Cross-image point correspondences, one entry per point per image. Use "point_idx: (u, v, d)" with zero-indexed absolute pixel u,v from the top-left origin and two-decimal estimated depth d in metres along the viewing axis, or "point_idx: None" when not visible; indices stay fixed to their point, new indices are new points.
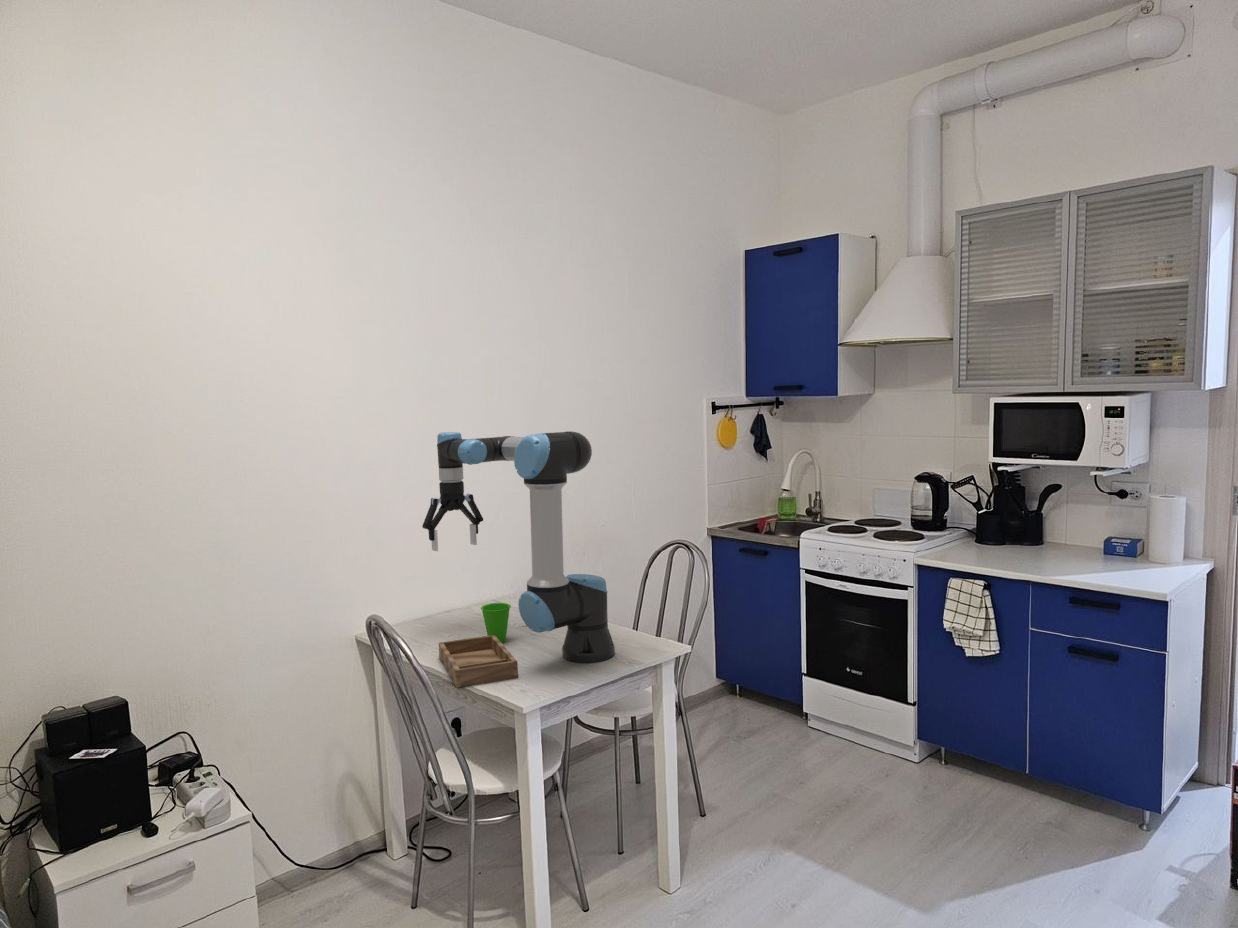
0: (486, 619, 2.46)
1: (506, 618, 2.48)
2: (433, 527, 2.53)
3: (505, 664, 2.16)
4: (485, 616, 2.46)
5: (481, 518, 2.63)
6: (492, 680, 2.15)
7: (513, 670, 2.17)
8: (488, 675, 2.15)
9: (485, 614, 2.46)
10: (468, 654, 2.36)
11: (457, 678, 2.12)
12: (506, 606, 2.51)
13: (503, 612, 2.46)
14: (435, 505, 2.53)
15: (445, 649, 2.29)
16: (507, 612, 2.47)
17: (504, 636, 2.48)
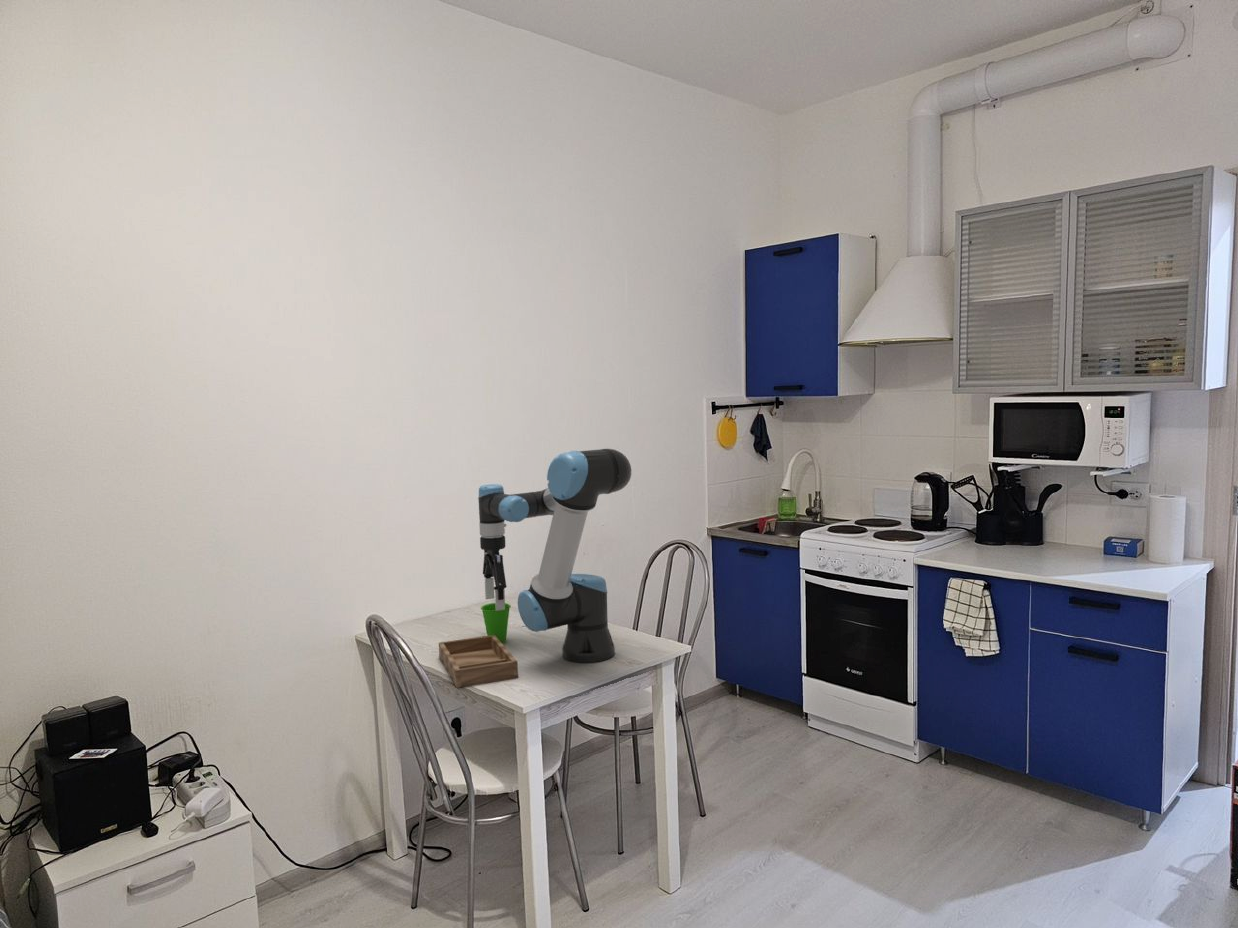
0: (486, 619, 2.46)
1: (506, 618, 2.48)
2: (484, 575, 2.55)
3: (505, 664, 2.16)
4: (485, 616, 2.46)
5: (497, 585, 2.39)
6: (492, 680, 2.15)
7: (513, 670, 2.17)
8: (488, 675, 2.15)
9: (485, 614, 2.46)
10: (468, 654, 2.36)
11: (457, 678, 2.12)
12: (506, 606, 2.51)
13: (503, 612, 2.46)
14: (484, 554, 2.53)
15: (445, 649, 2.29)
16: (507, 612, 2.47)
17: (504, 636, 2.48)
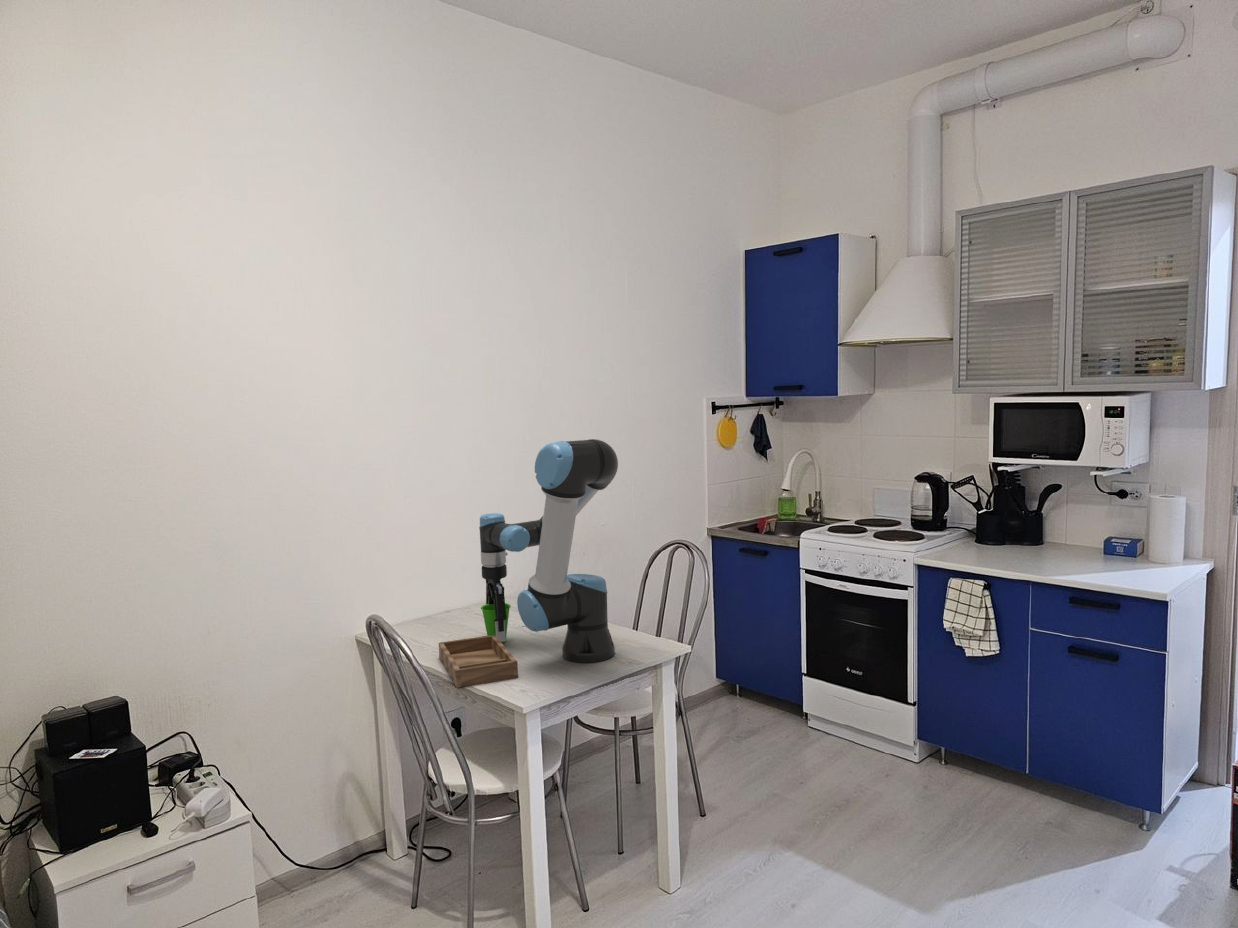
0: (486, 619, 2.46)
1: None
2: None
3: (505, 664, 2.16)
4: (485, 616, 2.46)
5: (497, 617, 2.41)
6: (492, 680, 2.15)
7: (513, 670, 2.17)
8: (488, 675, 2.15)
9: (485, 614, 2.46)
10: (468, 654, 2.36)
11: (457, 678, 2.12)
12: (506, 606, 2.51)
13: None
14: (486, 585, 2.53)
15: (445, 649, 2.29)
16: (507, 612, 2.47)
17: None
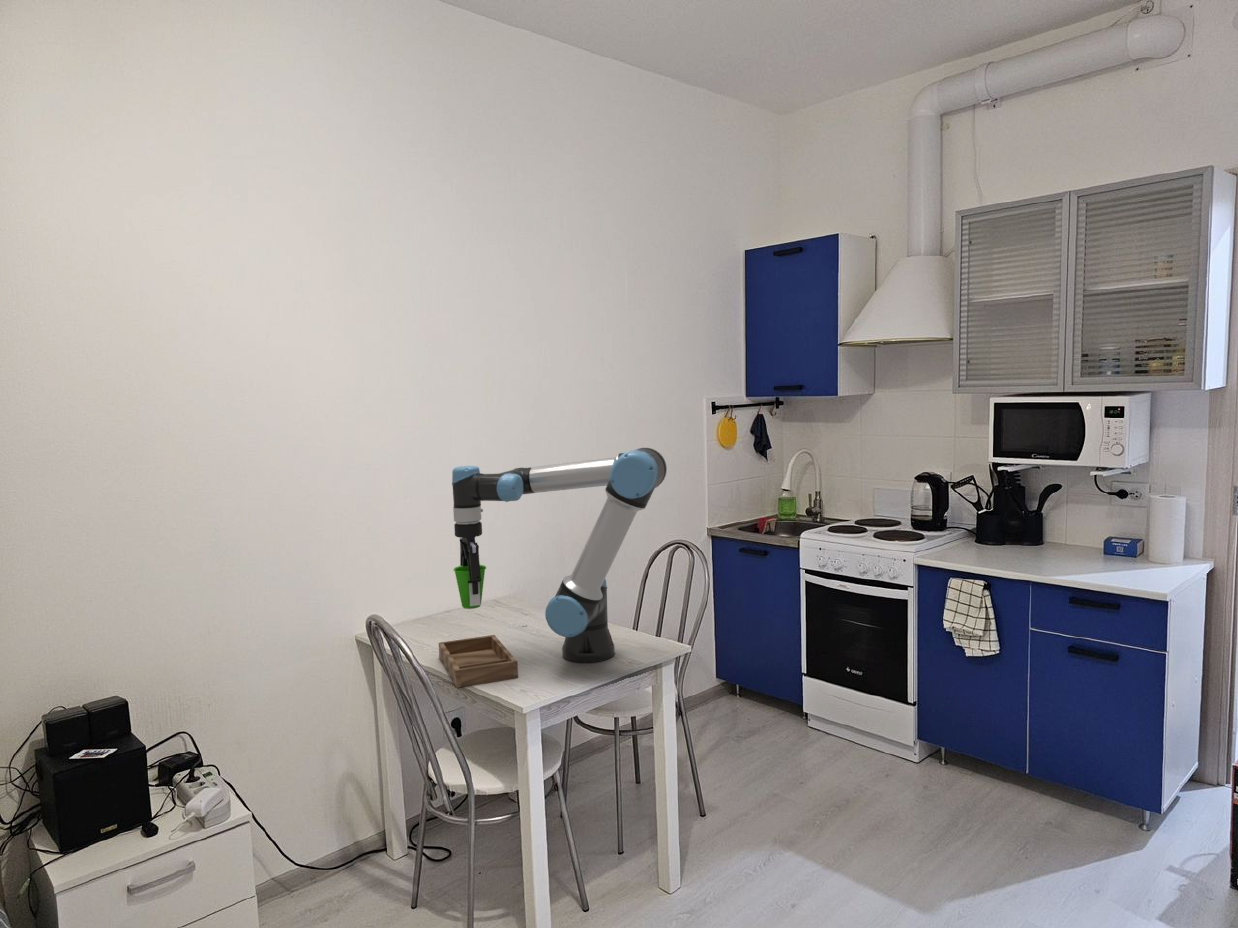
0: (459, 581, 2.25)
1: (481, 580, 2.26)
2: None
3: (505, 664, 2.16)
4: (458, 578, 2.25)
5: (471, 578, 2.20)
6: (492, 680, 2.15)
7: (513, 670, 2.17)
8: (488, 675, 2.15)
9: (458, 576, 2.25)
10: (468, 654, 2.36)
11: (457, 678, 2.12)
12: (481, 568, 2.30)
13: None
14: (460, 545, 2.32)
15: (445, 649, 2.29)
16: (482, 574, 2.26)
17: None
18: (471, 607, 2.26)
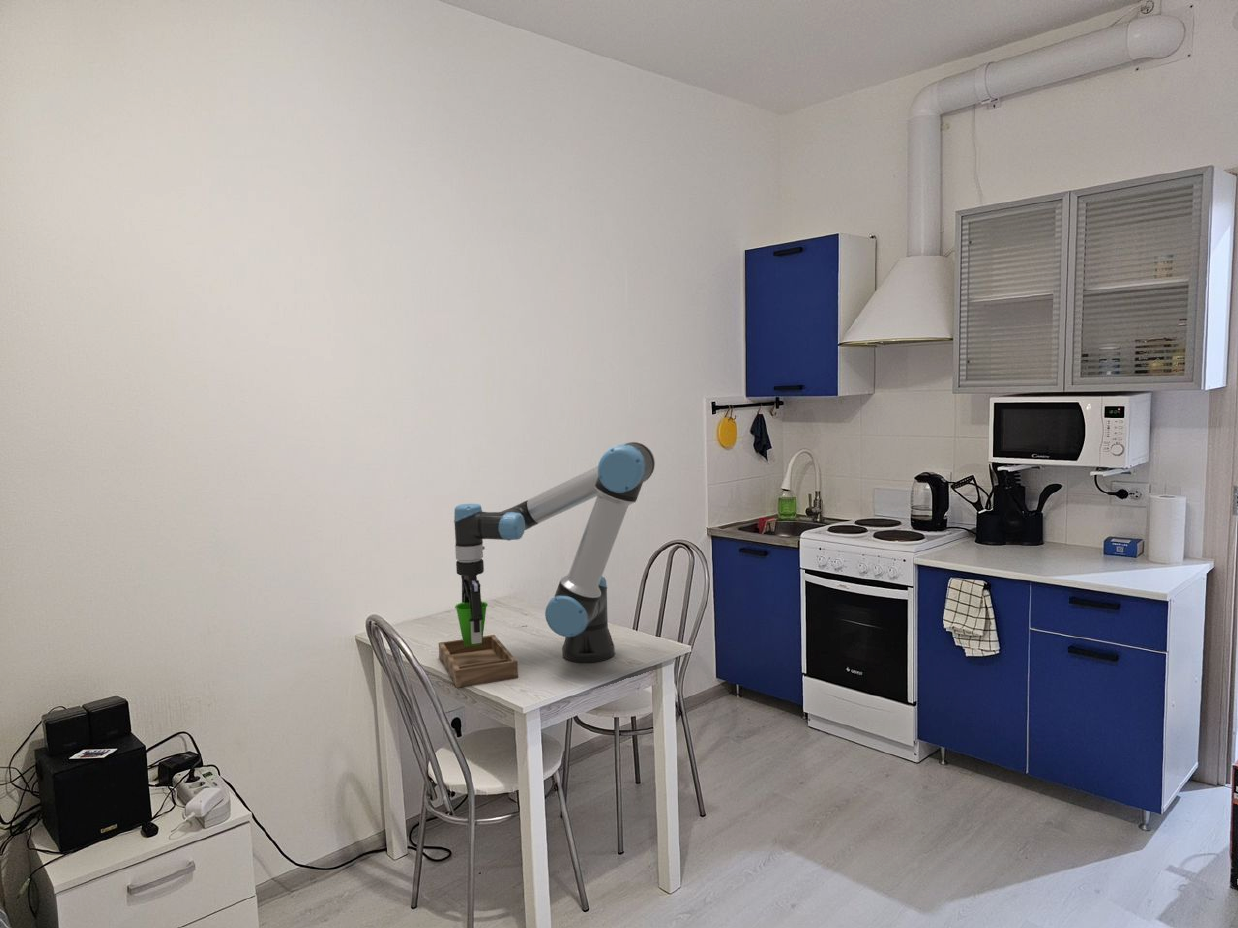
0: (460, 619, 2.26)
1: (483, 618, 2.27)
2: None
3: (505, 664, 2.16)
4: (459, 615, 2.26)
5: (473, 616, 2.21)
6: (492, 680, 2.15)
7: (513, 670, 2.17)
8: (488, 675, 2.15)
9: (459, 613, 2.26)
10: (468, 654, 2.36)
11: (457, 678, 2.12)
12: (483, 605, 2.31)
13: None
14: None
15: (445, 649, 2.29)
16: (484, 611, 2.27)
17: None
18: (472, 644, 2.27)
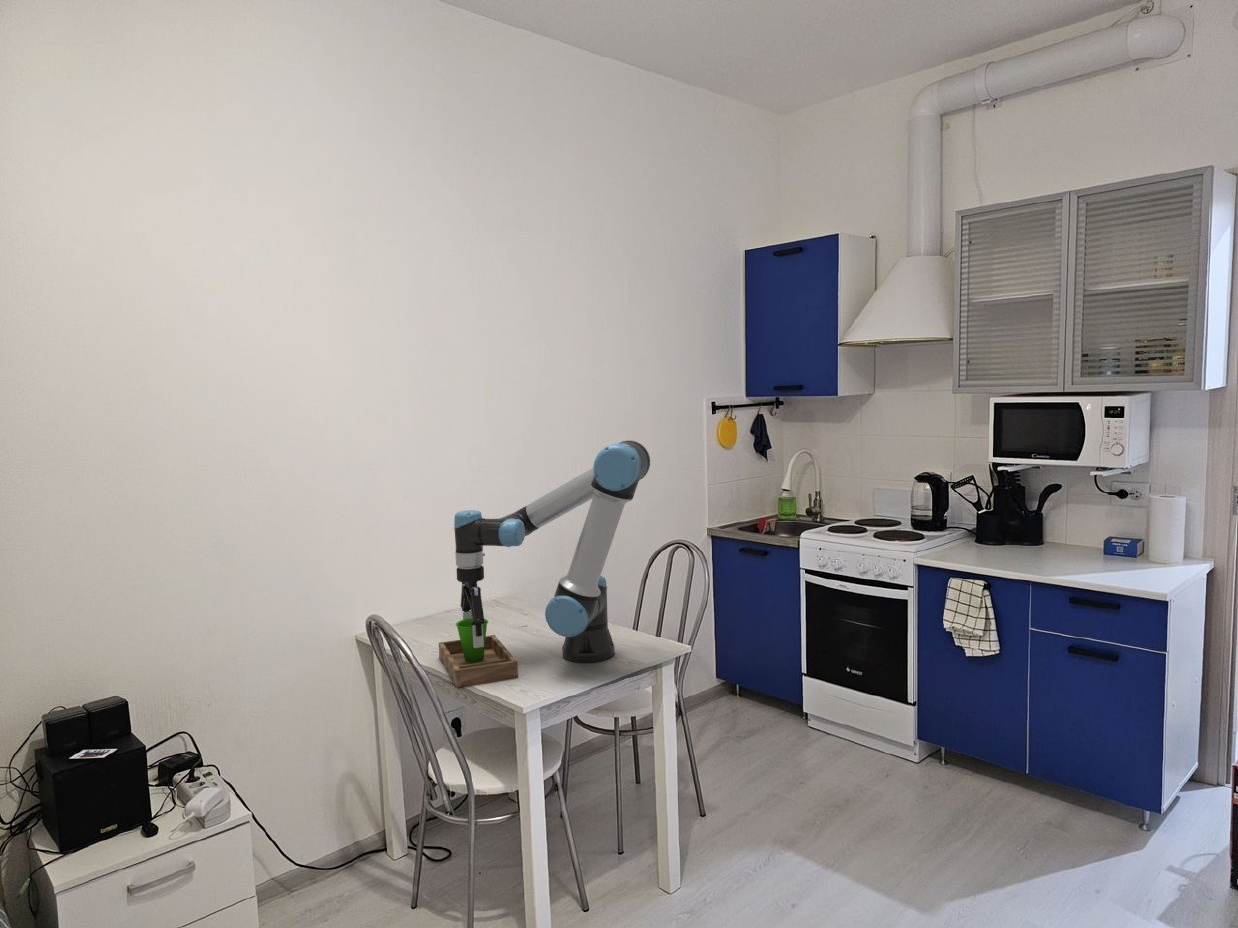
0: (462, 636, 2.27)
1: (484, 634, 2.28)
2: (462, 608, 2.35)
3: (505, 664, 2.16)
4: (460, 633, 2.27)
5: (474, 620, 2.20)
6: (492, 680, 2.15)
7: (513, 670, 2.17)
8: (488, 675, 2.15)
9: (460, 631, 2.26)
10: None
11: (457, 678, 2.12)
12: None
13: None
14: (462, 586, 2.34)
15: (445, 649, 2.29)
16: (484, 628, 2.28)
17: (482, 654, 2.29)
18: (474, 661, 2.28)
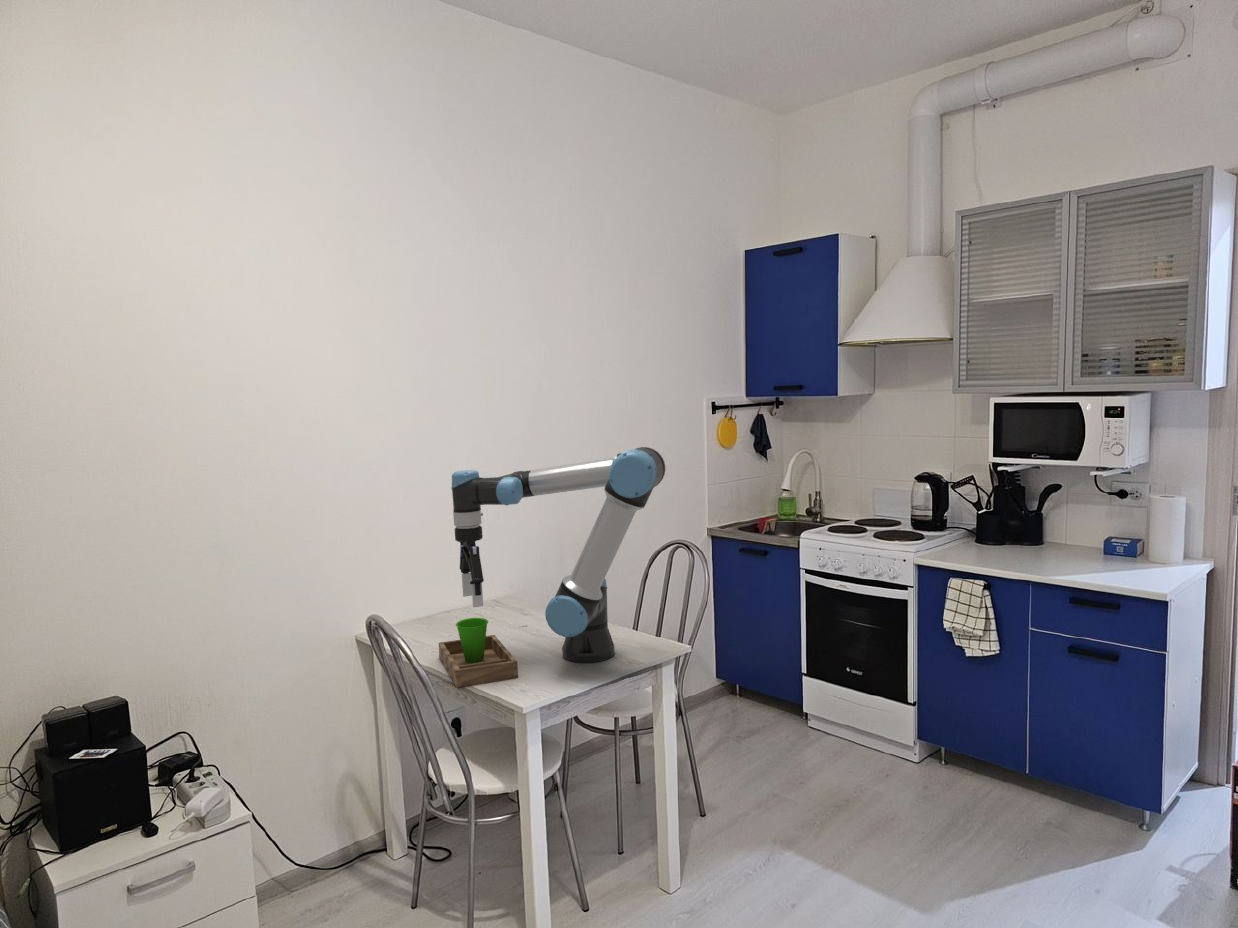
0: (462, 637, 2.27)
1: (484, 635, 2.28)
2: (461, 570, 2.34)
3: (505, 664, 2.16)
4: (461, 633, 2.27)
5: (473, 579, 2.18)
6: (492, 680, 2.15)
7: (513, 670, 2.17)
8: (488, 675, 2.15)
9: (460, 631, 2.26)
10: None
11: (457, 678, 2.12)
12: (483, 621, 2.32)
13: (480, 629, 2.26)
14: (460, 547, 2.33)
15: (445, 649, 2.29)
16: (484, 628, 2.28)
17: (482, 654, 2.29)
18: (474, 661, 2.28)
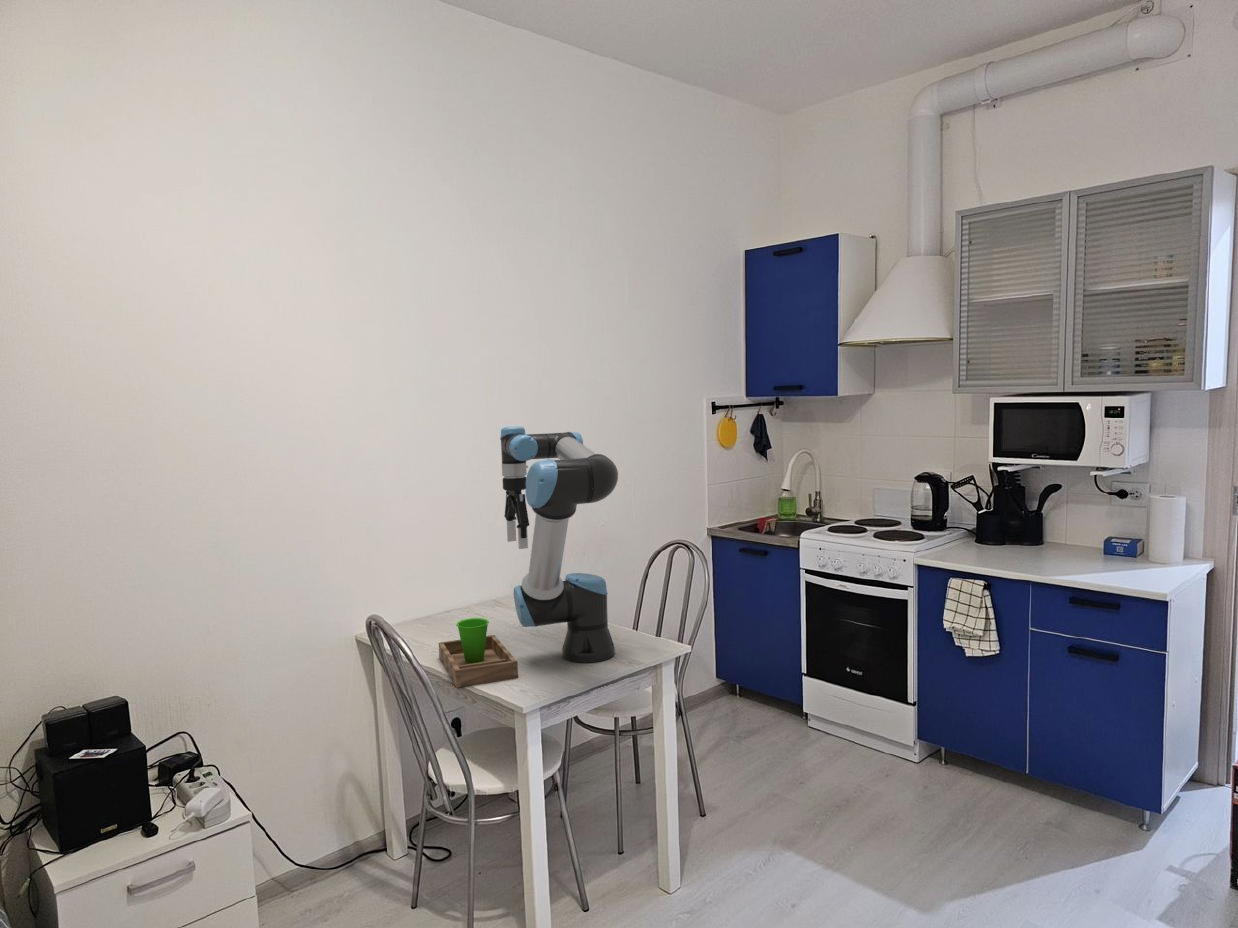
0: (462, 636, 2.27)
1: (484, 635, 2.28)
2: (506, 517, 2.59)
3: (505, 664, 2.16)
4: (461, 633, 2.27)
5: (520, 523, 2.43)
6: (492, 680, 2.15)
7: (513, 670, 2.17)
8: (488, 675, 2.15)
9: (461, 631, 2.26)
10: None
11: (457, 678, 2.12)
12: (484, 622, 2.32)
13: (481, 629, 2.26)
14: (506, 497, 2.57)
15: (445, 649, 2.29)
16: (485, 628, 2.28)
17: (482, 654, 2.29)
18: (474, 662, 2.28)
